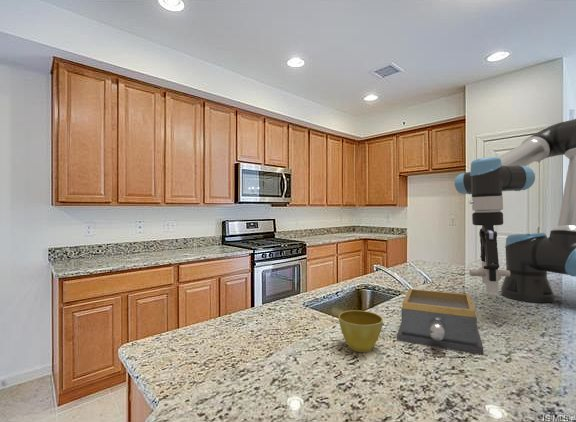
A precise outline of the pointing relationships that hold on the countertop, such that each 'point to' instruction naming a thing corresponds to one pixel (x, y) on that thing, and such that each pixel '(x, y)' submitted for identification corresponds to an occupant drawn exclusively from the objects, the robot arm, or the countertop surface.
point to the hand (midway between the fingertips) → (490, 287)
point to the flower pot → (360, 329)
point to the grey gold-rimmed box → (440, 320)
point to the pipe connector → (483, 272)
